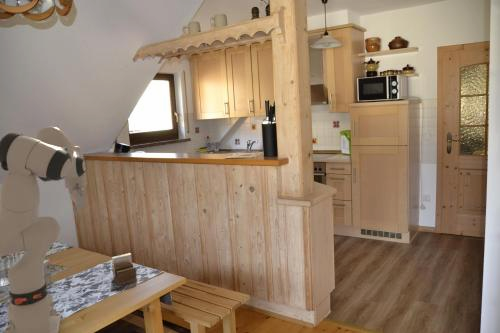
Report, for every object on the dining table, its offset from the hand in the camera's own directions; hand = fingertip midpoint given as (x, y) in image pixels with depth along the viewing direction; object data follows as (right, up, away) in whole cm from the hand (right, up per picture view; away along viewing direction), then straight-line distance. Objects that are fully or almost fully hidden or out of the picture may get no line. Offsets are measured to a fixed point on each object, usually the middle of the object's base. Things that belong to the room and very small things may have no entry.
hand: (79, 212), depth 183 cm
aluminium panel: (+19, -29, +3) cm, 34 cm away
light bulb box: (-18, -33, -2) cm, 37 cm away
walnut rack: (+20, -30, +2) cm, 36 cm away
